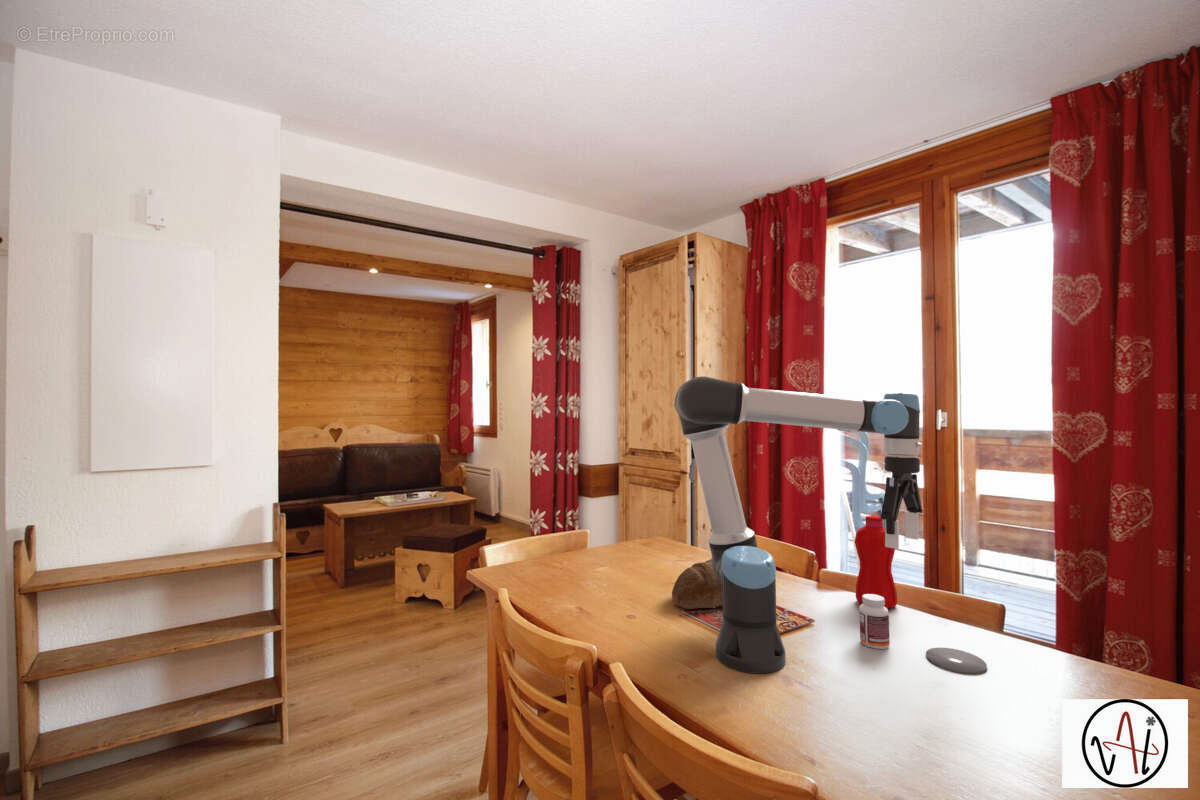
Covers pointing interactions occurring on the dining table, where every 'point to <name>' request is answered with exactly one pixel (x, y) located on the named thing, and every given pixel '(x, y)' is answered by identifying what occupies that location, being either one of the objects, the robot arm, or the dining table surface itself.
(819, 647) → the dining table surface
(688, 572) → the bread
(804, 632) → the dining table surface
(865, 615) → the pill bottle
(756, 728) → the dining table surface
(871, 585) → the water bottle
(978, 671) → the coaster
